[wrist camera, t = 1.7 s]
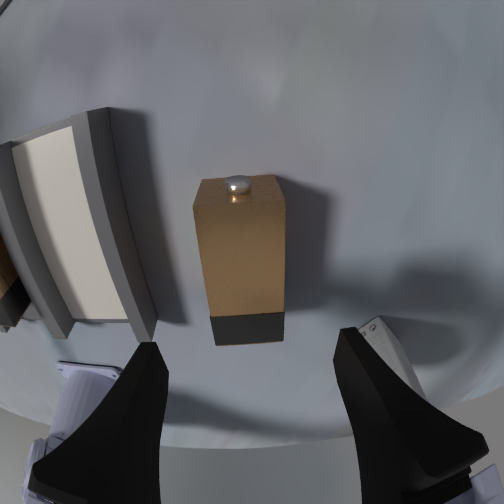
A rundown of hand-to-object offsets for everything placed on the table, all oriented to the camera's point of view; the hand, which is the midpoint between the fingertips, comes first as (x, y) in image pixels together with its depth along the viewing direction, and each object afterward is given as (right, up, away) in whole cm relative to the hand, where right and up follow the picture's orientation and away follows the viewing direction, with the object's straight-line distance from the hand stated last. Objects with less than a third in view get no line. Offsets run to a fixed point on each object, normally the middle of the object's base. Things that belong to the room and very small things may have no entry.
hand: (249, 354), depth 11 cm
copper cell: (-1, +4, +7) cm, 8 cm away
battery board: (-16, +5, +6) cm, 17 cm away
